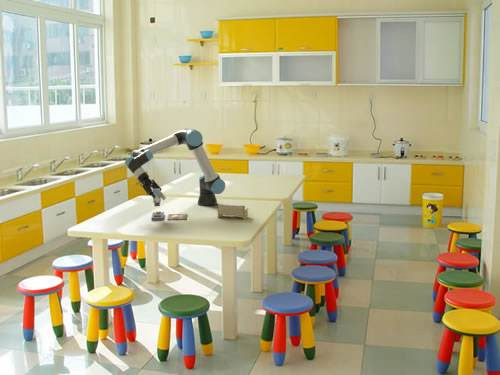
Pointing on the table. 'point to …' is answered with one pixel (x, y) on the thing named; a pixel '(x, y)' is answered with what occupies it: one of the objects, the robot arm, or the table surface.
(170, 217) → the walnut pad
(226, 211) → the toy sofa
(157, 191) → the brick
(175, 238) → the table surface
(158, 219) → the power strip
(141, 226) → the table surface
